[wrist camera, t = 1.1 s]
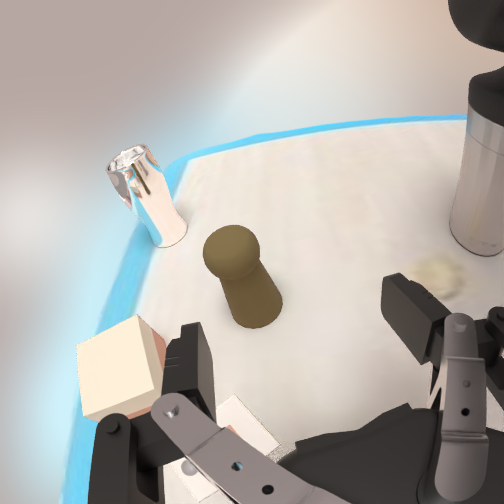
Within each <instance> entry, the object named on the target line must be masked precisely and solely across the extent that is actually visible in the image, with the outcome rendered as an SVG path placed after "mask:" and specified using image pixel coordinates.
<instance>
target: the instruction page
mask: <svg viewBox="0 0 504 504" xmlns="http://www.w3.org/2000/svg"><path fill="white" fill-rule="evenodd" d="M216 420H217V425H218V426H220V427H221V428H223V427H226V428H228V429H230V430H231V431H233V432H234V433H235V434H237V435H238V436H239V437H240V438H242V439H243V440H244V441H246V442H247V443H248V444H250V445H251V446H253V447H254V448H255V449H257V450H258V451H260V452H261V453H262V454H264V455H265V456H267V455H268V454H270V453H271V452H272V451H274V450H275V449H276V448H277V447H279V446H280V443H279V442H278V441H277V440H276V439H275V438H274V437H273V436H272V435H271V434H270V433H269V432H268V431H267V430H266V429H265V428H264V427H263V426H262V424H261V423H260V422H259V421H258V420H257V419H256V418H255V417H254V416H253V415H252V413H251V412H250V411H249V410H248V409H247V408H246V407H245V406H244V404H243V403H242V402H241V401H240V400H239V399H238V398H237V396H236V395H235V394H233V395H232V396H231V397H230V398H228V399H227V400H226V401H225V402H223V403H222V404H221V405H220V406H218V407H217V408H216ZM170 464H171V466H172V467H173V469H174V470H175V472H176V473H177V475H178V476H179V477H180V479H181V480H182V482H183V483H184V484H185V486H186V487H187V489H188V490H189V491H190V493H191V494H192V495H193V497H194V498H195V499H196V500H197V502H200V501H202V500H204V499H205V498H207V497H208V496H210V495H212V494H213V493H215V492H216V491H218V490H217V489H216V488H215V487H214V486H213V485H212V484H211V483H210V482H209V481H208V480H207V479H206V478H205V477H204V476H202V475H201V474H200V473H199V472H198V471H197V470H196V469H195V468H194V467H193V466H192V465H191V464H190V463H189V462H188V461H187V460H186V459H185V458H181V459H179V460H176V461H173V462H171V463H170Z"/></svg>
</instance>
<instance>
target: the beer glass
mask: <svg viewBox="0 0 504 504" xmlns="http://www.w3.org/2000/svg"><path fill="white" fill-rule="evenodd" d="M106 172H107V173H108V175H109V177H110V179H111V182H112V183H113V185H114V187H115V189H116V191H117V192H118V194H119V196H120V197H121V199H122V200H123V201H124V203H125V204H126V205H127V206H128V208H129V209H130V210H131V211H132V212H133V213H134V214H135V215H136V216H137V217H138V218H139V219H140V220H141V221H142V222H143V223H144V225H145V226H146V227H147V229H148V230H149V233H150V235H151V238H152V240H153V242H154V244H155V245H156V246H158V247H169V246H172V245H174V244H175V243H177V242H178V241H180V240H181V239H182V238H183V236H184V235H185V233H186V231H187V224H186V222H185V221H184V220H183V219H182V218H181V216H180V215H179V214H178V213H177V211H176V210H175V207H174V205H173V202H172V200H171V196H170V193H169V190H168V186H167V183H166V181H165V178H164V175H163V173H162V171H161V169H160V167H159V165H158V164H157V162H156V160H155V158H154V157H153V155H152V154H151V152H150V151H149V149H148V147H147V145H145V144H139V145H136V146H133V147H130V148H128V149H127V150H125V151H123V152H121V153H120V154H118V155H117V156H116V157H115V158H114V159H112V160H111V162H110V163H109V164H108V165H107V167H106Z"/></svg>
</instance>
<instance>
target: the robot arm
mask: <svg viewBox="0 0 504 504" xmlns="http://www.w3.org/2000/svg"><path fill="white" fill-rule="evenodd" d="M448 5H449V11H450V15H451V17H452V20H453V22H454V24H455V26H456V28H457V29H458V31H459V32H460V33H461V34H462V35H463V36H464V37H465V38H467V39H468V40H469V41H471V42H473V43H475V44H478V45H480V46H483V47H486V48H489V49H494V50H497V51H501V52H504V0H448ZM450 229H451V231H452V234H453V235H454V237H455V238H456V240H457V241H458V242H459V243H460V244H461V245H462V246H463V247H465V248H466V249H468V250H469V251H471V252H473V253H476V254H479V255H484V256H491V255H495V254H498V253H499V252H501V251H502V250H503V249H504V66H503V67H501V68H500V69H497V70H495V71H492V72H488V73H483V74H479V75H476V76H474V77H473V78H472V79H471V80H470V83H469V95H468V113H467V126H466V135H465V143H464V151H463V158H462V164H461V170H460V176H459V181H458V186H457V191H456V196H455V200H454V204H453V209H452V213H451V217H450ZM381 311H382V314H383V317H384V318H385V320H386V321H387V322H388V323H389V325H390V326H391V327H392V328H393V330H394V331H395V332H396V333H397V335H398V336H399V337H400V339H401V340H402V341H403V342H404V344H405V345H406V346H407V348H408V349H409V350H410V351H411V353H412V354H413V355H414V357H415V358H416V359H417V361H418V362H419V363H420V365H423V364H425V363H427V362H429V361H431V363H432V366H431V371H430V380H429V389H428V396H427V402H426V406H425V408H417V409H411V407H410V405H409V404H408V403H405V404H403V405H401V406H399V407H396V408H394V409H392V410H389V411H387V412H385V413H382V414H381V415H380V416H378V417H377V418H375V419H374V420H372V421H371V422H369V423H368V424H366V425H365V426H363V427H362V428H360V429H358V430H355V431H346V432H337V433H327V434H322V435H319V436H315V437H312V438H308V439H305V440H301V441H297V442H295V445H296V450H294V451H292V452H290V453H289V454H287V455H286V456H284V457H283V458H282V459H280V460H279V461H278V462H277V463H275V462H274V461H272V460H271V459H269V458H268V457H267V456H265V455H264V454H262V453H261V452H260V451H258V450H257V449H255V448H254V447H253V446H251V445H250V444H248V443H247V442H246V441H244V440H243V439H242V438H240V437H239V436H238V435H237V434H235V433H234V432H233V431H231V430H230V429H228V428H226V427H223V428H221V427H220V426H218V425H217V420H216V407H215V393H214V377H213V361H212V356H211V352H210V348H209V346H208V343H207V340H206V337H205V335H204V332H203V329H202V326H201V324H200V322H196V323H191V324H186V325H182V326H181V336H180V338H177V339H172V340H171V342H170V344H169V345H168V347H167V348H166V355H165V359H166V360H165V363H164V367H165V368H164V372H163V381H162V390H161V397H159V398H158V399H157V400H156V401H155V402H154V403H153V405H152V407H151V411H149V412H147V413H145V414H143V415H140V416H137V417H134V418H132V419H128V417H126V416H125V415H124V414H121V413H112V414H109V415H107V416H105V417H104V418H103V419H101V421H100V422H99V423H98V425H97V428H96V434H95V440H94V447H93V455H92V462H91V471H90V481H89V492H88V504H165V494H164V477H163V465H165V464H168V463H171V462H173V461H176V460H179V459H181V458H185V459H186V460H187V461H188V462H189V463H190V464H191V465H192V466H193V467H194V468H195V469H196V470H197V471H198V472H199V473H200V474H201V475H202V476H204V477H205V478H206V479H207V480H208V481H209V482H210V483H211V484H212V485H213V486H214V487H215V488H216V489H217V490H219V491H220V492H221V493H222V494H223V495H224V496H225V497H226V498H227V499H229V500H230V501H231V502H232V503H233V504H504V432H501V431H498V430H495V429H491V428H488V427H486V386H487V387H488V389H489V390H490V392H491V393H492V394H493V396H494V397H495V399H496V400H497V402H498V403H499V405H500V406H501V407H502V409H503V410H504V358H503V357H502V356H501V355H502V352H503V350H504V307H494V308H492V309H490V311H489V313H488V316H487V319H481V320H475V321H474V320H473V319H472V318H471V317H469V316H468V315H466V314H463V313H453V314H452V313H451V312H450V311H449V310H448V309H447V308H446V307H445V306H444V305H443V304H442V303H441V302H440V301H438V300H437V299H436V298H435V297H433V295H432V294H431V293H430V292H428V290H426V289H425V288H424V287H423V286H422V285H421V284H419V283H416V282H414V281H412V280H410V281H409V280H408V279H407V278H405V277H404V276H403V275H402V274H401V273H396V274H392V275H389V276H386V277H384V278H383V281H382V295H381Z"/></svg>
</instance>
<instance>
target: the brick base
mask: <svg viewBox="0 0 504 504" xmlns="http://www.w3.org/2000/svg"><path fill="white" fill-rule="evenodd" d="M165 355H166V345H165V342H164V339H163V338H162V337H161V336H160V335H158V334H157V333H156V332H155V331H154V330H153V329H152V328H151V327H150V326H149V325H148V324H147V323H146V322H145V321H144V320H143V319H142V318H141V317H140V316H138V315H137V314H136V315H134V316H132V317H131V318H129V319H127V320H125V321H123V322H121V323H119V324H117V325H115V326H113V327H111V328H109V329H107V330H105V331H103V332H102V333H100V334H98V335H96V336H94V337H92V338H90V339H88V340H86V341H84V342H82V343H80V344H78V345H77V361H78V362H77V363H78V375H79V385H80V394H81V402H82V409H83V416H84V417H86V418H89V419H91V420H94V421H96V422H100V421H101V419H103V418H104V417H105V416H107V415H109V414H112V413H121V414H124V415H125V416H126V417H128V419H132V418H134V417H137V416H140V415H143V414H145V413H147V412H149V411H151V407H152V405H153V403H154V402H155V401H156V400H157V399H158V398H159V397H161V390H162V381H163V372H164V368H165V367H164V363H165V360H166V359H165Z"/></svg>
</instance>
